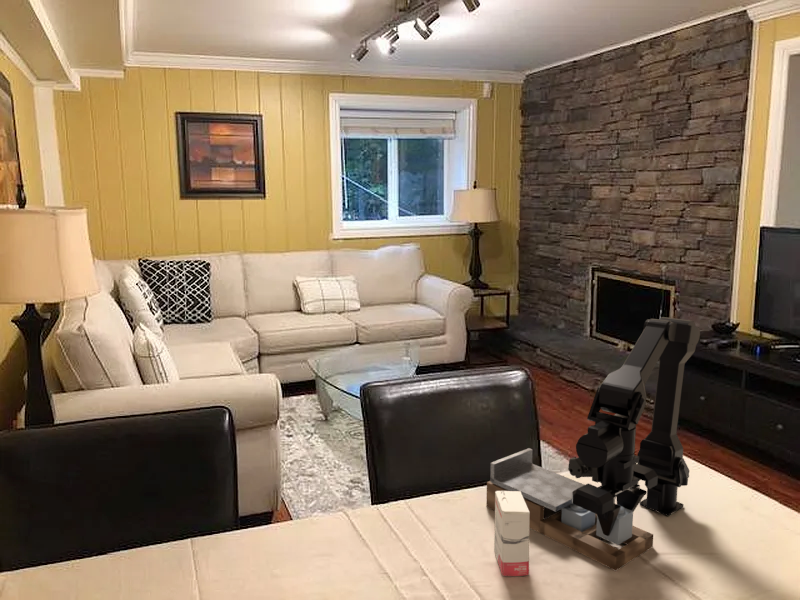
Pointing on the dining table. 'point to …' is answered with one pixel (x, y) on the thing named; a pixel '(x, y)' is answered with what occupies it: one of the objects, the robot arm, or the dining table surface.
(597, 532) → the domed grey cube
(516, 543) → the ink box
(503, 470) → the lid
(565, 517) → the pale blue studded block
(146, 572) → the dining table surface
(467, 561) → the dining table surface
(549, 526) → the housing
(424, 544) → the dining table surface
